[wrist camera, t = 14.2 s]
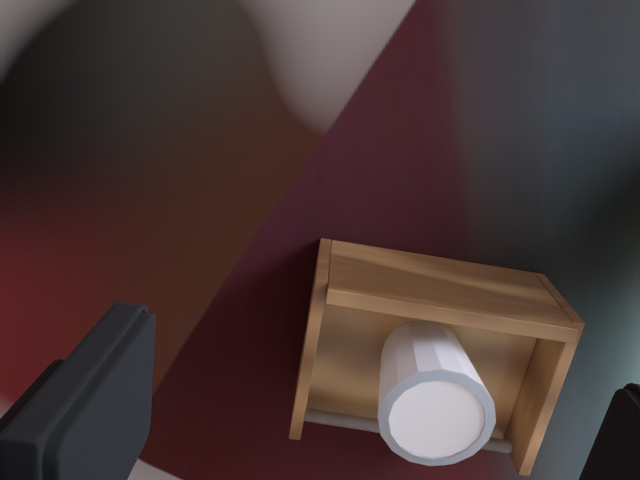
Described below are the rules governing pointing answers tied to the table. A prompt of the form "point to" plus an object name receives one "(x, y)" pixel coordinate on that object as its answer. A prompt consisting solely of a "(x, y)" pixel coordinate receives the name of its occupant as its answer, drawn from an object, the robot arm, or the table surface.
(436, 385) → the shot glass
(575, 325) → the spice rack
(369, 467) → the table surface
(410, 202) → the table surface
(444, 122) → the table surface
